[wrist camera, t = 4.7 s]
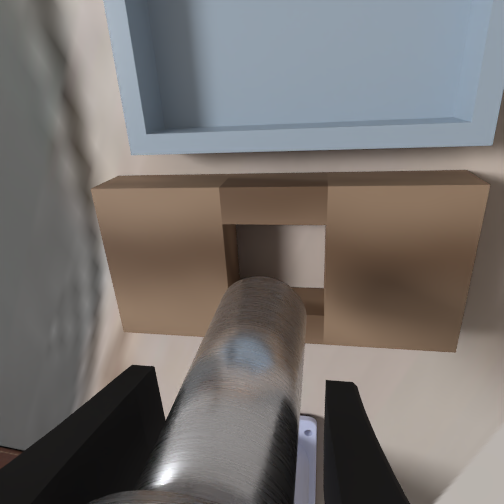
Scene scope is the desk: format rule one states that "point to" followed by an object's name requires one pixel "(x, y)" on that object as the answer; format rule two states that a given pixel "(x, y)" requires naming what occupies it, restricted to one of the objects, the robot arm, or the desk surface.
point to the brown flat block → (336, 249)
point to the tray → (307, 73)
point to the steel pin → (234, 407)
